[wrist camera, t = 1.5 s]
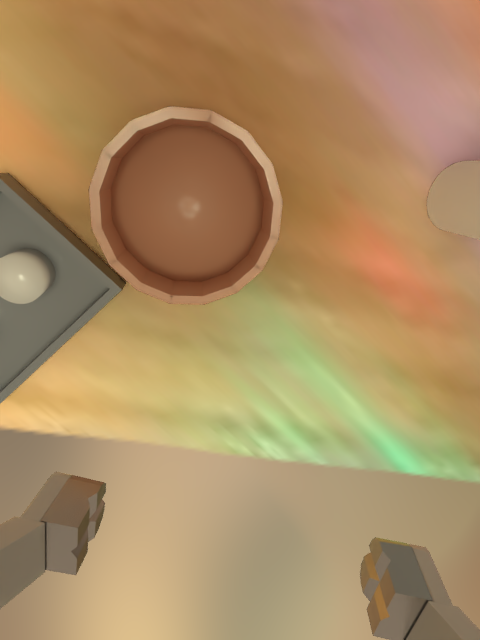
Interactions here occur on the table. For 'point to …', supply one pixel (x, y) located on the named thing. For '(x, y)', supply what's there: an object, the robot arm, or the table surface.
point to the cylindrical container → (456, 199)
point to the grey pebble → (25, 275)
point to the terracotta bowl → (185, 205)
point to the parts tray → (56, 302)
